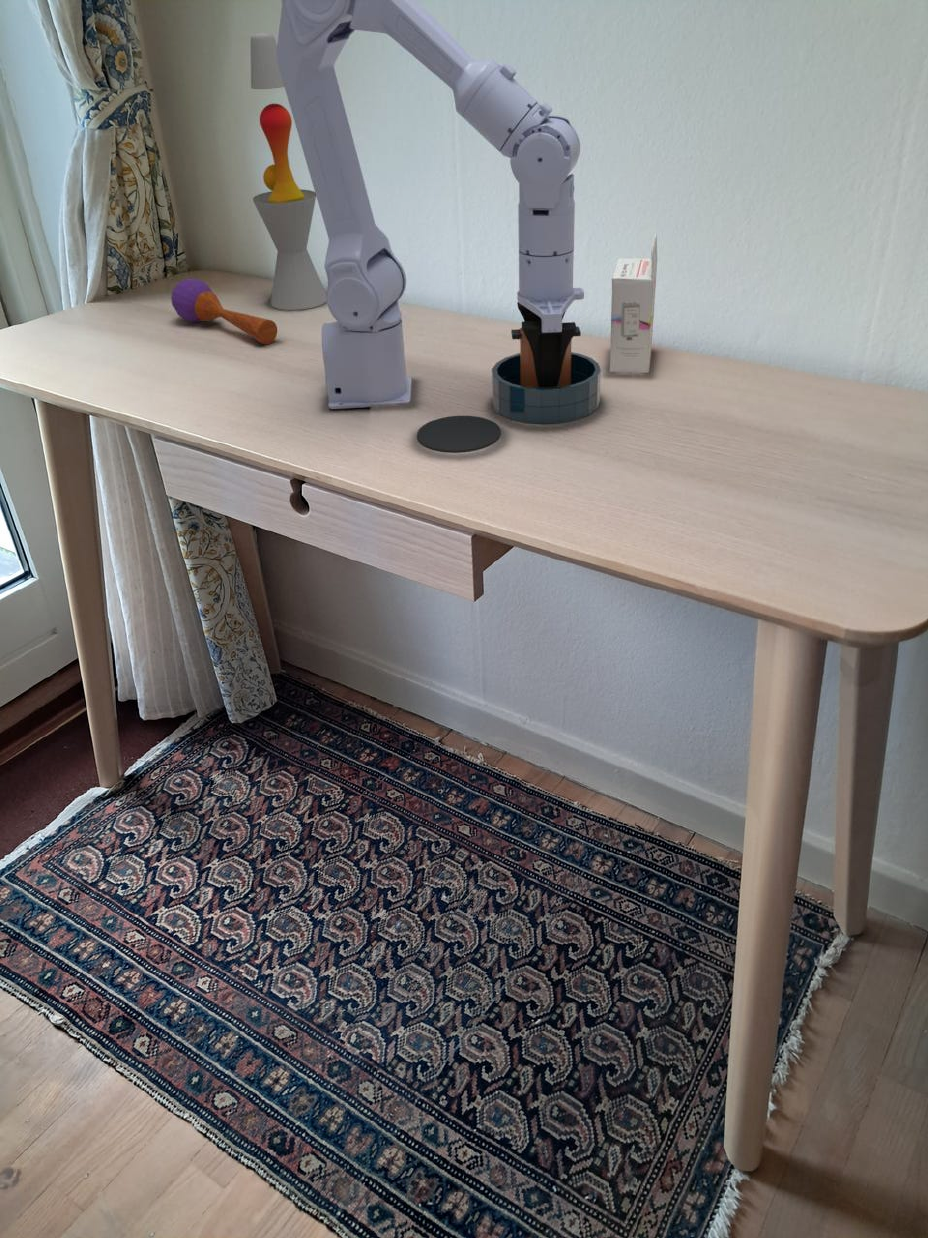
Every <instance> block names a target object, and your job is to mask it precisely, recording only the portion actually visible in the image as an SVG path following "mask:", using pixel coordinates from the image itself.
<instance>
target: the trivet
mask: <svg viewBox="0 0 928 1238" xmlns="http://www.w3.org/2000/svg"><path fill="white" fill-rule="evenodd" d="M501 435H502V430H501V428H500V425H498V424H497V423H496V422H495V421H492V420H490V419H488V418H485V417H482V416H474V415H450V416H445V417H440V418H436V419H433V420H431V421H428V422H426V423H425V424H424V425H422V426H421V427H419V429H418V431H417V433H416V440H417V442H418V443H419V444H420V445H421V446H423V447H424V448H426V449H428V450H432V451H436V452H441V453H447V454H449V453H450V454H457V453H458V454H459V453H460V454H461V453H471V452H475V451H479V450H483V449H485V448H488V447H490V446H492V445H494V444H495V443H497V441H499V439H500V438H501Z"/></svg>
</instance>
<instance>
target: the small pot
mask: <svg viewBox="0 0 928 1238" xmlns="http://www.w3.org/2000/svg"><path fill="white" fill-rule="evenodd" d="M510 332H511V333H510V334H511V340H519V351H520V352H519V353H520V373H521V386H525V387H536V388H553V387H562V386H568V385H571V352H572V340H571V341H570V343H569V345H568V348H567V350H566V353H565V357H564V361H563V365H562V370H561V375H560V379H559V382H558V385H557V386H549V387H539V385H538V382H537V378H536V373H535V367H534V360H533V354H532V350H531V347H530V344H529V342H528V340H527V338H526V336H525V334H524V332H523V329H522V327H520V328H519V329H511V330H510ZM581 333H582V332H581V329H580V327H579V326H576V331H575V334H574V336H573V337H581Z"/></svg>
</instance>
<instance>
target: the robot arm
mask: <svg viewBox="0 0 928 1238" xmlns="http://www.w3.org/2000/svg"><path fill="white" fill-rule="evenodd" d="M280 1H281V9H280V10H281V11H280V19H279V27H278V34H277V42H276V44H277V52H276V56H277V62H278V66H279V70H280V73H281V77H282V80H283V84H284V87H283V88H284V90H285V94H286V97H287V100H288V104H289V107H290V111H291V114H292V117H293V121H294V124H295V128H296V131H297V135H298V138H299V142H300V145H301V148H302V152H303V155H304V159H305V162H306V167H307V170H308V173H309V176H310V178H311V184H312V187H313V189H314V192H315V193H316V200H317V203H318V207H319V211H320V214H321V217H322V221H323V224H324V227H325V231H326V234H327V238H328V242H327V248H326V253H325V259H324V265H323V266H324V270H325V273H326V274H325V275H326V277H327V279H326V280H327V286H326V292H325V293H326V300H327V301H326V304H327V308H328V310H329V312H330V314H331V316H332V317H333V318H334V320H336V321H332V322H326V323H325V322H324V323H322V326H321V351H322V352H321V353H322V361H323V367H324V369H323V370H324V380H325V385H326V391H327V399H328V409H329V410H340V409H342V410H343V409H360V408H361V409H363V408H371V407H372V405H388V404H405V403H406V404H407V403H410V402H411V393H412V377H411V376H407V367H406V366H407V365H406V352H405V341H404V328H403V327H404V326H403V318H402V317H403V315H402V311H401V309H400V306H399V300H400V299H401V298H403V297H402V296H403V295H404V294H405V291H406V288H407V275H406V271H405V269H404V267H403V265H402V263H401V262H400V261H399V259H398V258H397V256H396V255H395V254H394V252H393V250H392V247H391V245H390V241H389V238H388V237H387V235H386V234H385V233H384V232H383V231H382V230H381V229H380V228H379V227H378V225H377V224H376V221H375V217H374V213H373V210H372V206H371V203H370V202H371V201H370V199H369V198H370V197H369V195H368V190H367V187H366V183H365V179H364V176H363V172H362V167H361V165H360V161H359V156H358V153H357V149H356V145H355V142H354V137H353V135H352V130H351V126H350V123H349V120H348V115H347V112H346V108H345V104H344V99H343V96H342V93H341V89H340V85H339V82H338V78H337V74H336V70H335V64H336V62H337V60H338V58H339V56H340V54H341V53H342V51H343V49H344V47H345V46H346V44H347V42H348V40H349V38H350V36H351V35H352V34H353V33H354V32H355V31H363V32H371V33H379V34H386V35H387V36H389V37H390V38H391V39H392V40H394V41H395V42H397V44H399V45H400V46H401V47H402V48H403V49H404V50H406V52H408V53H409V54H410V55H412V56H413V57H414V59H416V60H417V61H418V62H420V63H421V64H422V65H423V66H424V67H425V68H426V69H428V70H429V71H430V72H431V73H432V74H434V75H435V76H436V77H437V78H438V79H439V80H441V81H442V82H443V83H444V84H445V85H446V86H448V87H449V88H450V89H451V90H452V92H453V99H454V105H455V110H456V112H457V114H459V116H461V118H463V119H464V120H465V121H466V123H468V124H469V125H470V126H472V128H473V129H474V130H475V131H477V133H479V135H481V136H482V137H483V138H484V139H485V140H486V141H487V142H488V143H489V144H490V145H491V146H493V148H495V149H496V150H497V152H499V153H500V154H501V155H502V156H503V157H506V158H509V159H510V160H509V162H510V163H509V164H510V168H511V171H512V174H513V176H514V178H515V179H516V181H517V182H518V189H519V190H518V191H519V193H518V195H519V196H518V197H519V198H518V199H519V200H518V201H519V202H518V205H517V206H518V208H517V209H518V213H517V214H518V291H517V293H516V300H517V303H516V305H517V309H518V311H519V312H520V315H521V317H522V319H523V321H521V328H522V329H523V332H524V334H525V336H526V338H527V340H528V342H529V344H530V347H531V350H532V354H533V360H534V367H535V373H536V378H537V382H538V385H539V387H549V386H557V385H558V382H559V379H560V375H561V370H562V365H563V361H564V357H565V353H566V350H567V348H568V345H569V343H570V341H571V342H572V339H573V337H575V336H574V334H575V331H576V327H577V324H576V322H574V321H571V322H569V321H568V322H563V319H564V317H565V315H566V312H567V310H568V309H569V308H570V307H571V305H572V304H573V302H575V301H578V300H584V298H585V291H584V289H583V288H582V287H574V260H575V256H574V255H575V216H576V215H575V213H576V212H575V211H576V203H575V199H574V195H575V194H574V193H575V174H574V173H571V172H572V171H573V170H574V169H575V167H576V165H577V163H578V161H579V158H580V154H581V142H580V138H579V134H578V132H577V130H576V129H575V128H574V126H573V125H572V124H571V122H570V120H569V119H568V118H567V117H565V116H562V115H559V114H551V113H552V112H553V108H552V107H551V106H550V105H549V104H548V103H547V102H543V104H541V103H540V102H539V101H538V100H537V99H536V98H535V97H534V96H533V95H531V93H530V92H529V91H527V90H526V88H524V87H523V86H522V85H521V84H520V83H519V82H518V81H517V80H516V79H515V78H514V77H515V76H516V74H517V71H516V69H515V68H514V67H513V66H512V65H510V64H509V63H508V62H506V63H504V64H502V65H501V64H499V63H498V62H497V61H496V60H495V59H485V60H475V59H474V58H473V57H472V56H471V54H470V53H468V52H467V50H466V49H465V48H463V46H462V45H461V44H460V43H459V42H458V41H457V40H456V39H455V38H454V37H453V36H452V35H451V34H450V33H449V32H448V31H447V29H446V28H445V27H444V26H443V25H442V24H441V23H440V22H439V21H438V20H437V19H436V18H435V17H434V16H433V15H432V14H431V13H430V12H429V11H428V10H427V8H426V7H424V5H423V4H422V3H420V2H419V0H280ZM570 173H571V174H570Z"/></svg>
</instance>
